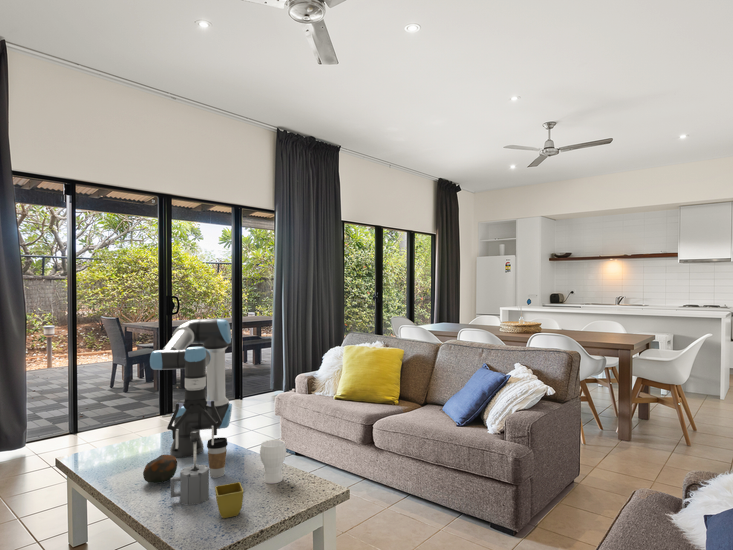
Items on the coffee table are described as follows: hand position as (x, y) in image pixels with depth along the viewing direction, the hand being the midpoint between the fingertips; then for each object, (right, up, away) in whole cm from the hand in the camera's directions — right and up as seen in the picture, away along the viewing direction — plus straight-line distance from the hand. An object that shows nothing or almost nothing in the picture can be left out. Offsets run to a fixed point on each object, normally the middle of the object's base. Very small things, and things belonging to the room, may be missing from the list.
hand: (195, 445), depth 175 cm
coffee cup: (+1, -21, +22) cm, 30 cm away
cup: (+26, -20, +16) cm, 37 cm away
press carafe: (-1, -20, -1) cm, 20 cm away
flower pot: (+17, -19, -13) cm, 29 cm away
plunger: (0, -11, 0) cm, 11 cm away
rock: (-20, -21, +15) cm, 32 cm away
